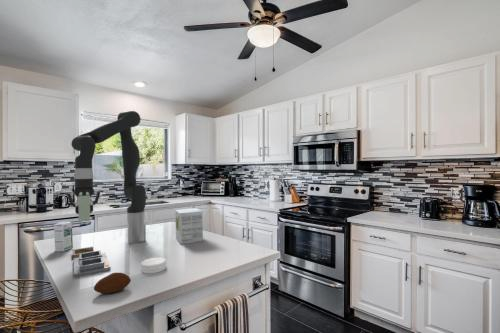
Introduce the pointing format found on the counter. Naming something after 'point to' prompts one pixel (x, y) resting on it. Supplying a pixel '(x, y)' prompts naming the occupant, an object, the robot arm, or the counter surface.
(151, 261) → the coaster
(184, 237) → the supplement box
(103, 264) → the rack
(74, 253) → the bracket
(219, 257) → the counter surface
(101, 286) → the potato
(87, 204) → the peg
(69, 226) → the syrup box
